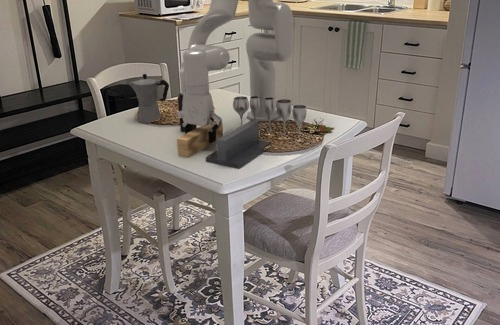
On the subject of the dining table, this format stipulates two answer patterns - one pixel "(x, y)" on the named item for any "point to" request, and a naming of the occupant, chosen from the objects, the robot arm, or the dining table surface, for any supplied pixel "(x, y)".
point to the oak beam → (196, 140)
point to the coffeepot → (148, 98)
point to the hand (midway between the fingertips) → (200, 139)
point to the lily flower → (321, 127)
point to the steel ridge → (238, 146)
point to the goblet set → (271, 109)
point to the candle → (180, 97)
